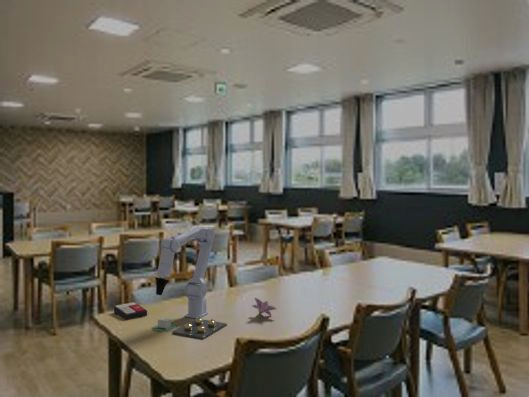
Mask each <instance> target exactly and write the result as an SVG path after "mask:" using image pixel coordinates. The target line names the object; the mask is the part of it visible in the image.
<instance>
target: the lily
mask: <svg viewBox="0 0 529 397" xmlns="http://www.w3.org/2000/svg"><path fill="white" fill-rule="evenodd" d="M254 300H255V303H256V304H253V305H251V307H252V308H255V309H257V311H258V314H259V315H260V316H259V320H261V317H262V314H264V313H265V314H267V315H268V316H270V317H272V313H271V311H275V310H278V308H276V307H275V306H273V305H269V301H268V300H266V301H264V302H263V301H262V300H261V299H259V298H257V297H254Z"/></svg>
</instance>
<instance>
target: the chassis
mask: <svg viewBox="0 0 529 397" xmlns="http://www.w3.org/2000/svg"><path fill="white" fill-rule="evenodd" d="M227 325H228V324H227V322H221V321H216V320H215V319H213V318H211V319H210V320H209V319H203V318H202V317H199V318H194V320H192V321H190V322H189V321H188V322H187V323H185V324H184V325H182V326H180V327H179V328H175V329H173V330H171V331H172V332H171V334H172V335H177V336H184V337H187V338H193V339H198V340H205V339H207V338H209V337H211V336H212V335H214V334H216V332H218V331H220V330H222V329H223V328H225V327H227Z"/></svg>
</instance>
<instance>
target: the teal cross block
mask: <svg viewBox="0 0 529 397" xmlns="http://www.w3.org/2000/svg"><path fill="white" fill-rule="evenodd" d="M175 327H176V328H177V325H176V323H172V320H171V318H166V317H160V318H157V324H156V325H155V326H151V329H152V331H153V332H157V333H162V332H164V331H165V332H170V331H173V330H174V329H176V328H175ZM173 328H174V329H173Z"/></svg>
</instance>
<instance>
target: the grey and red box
mask: <svg viewBox="0 0 529 397" xmlns="http://www.w3.org/2000/svg"><path fill="white" fill-rule="evenodd" d="M113 313H114V314H115V315H116V316H119V317H120V318H122V319H123V320H125V321H128V320H133V319H139V318H143V316H144V317H147V316H148V310H147V309H146V308H144V307H143V306H141V305H140V304H138V303H137V302H128V303H124V304H118V305H114V306H113Z"/></svg>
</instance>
